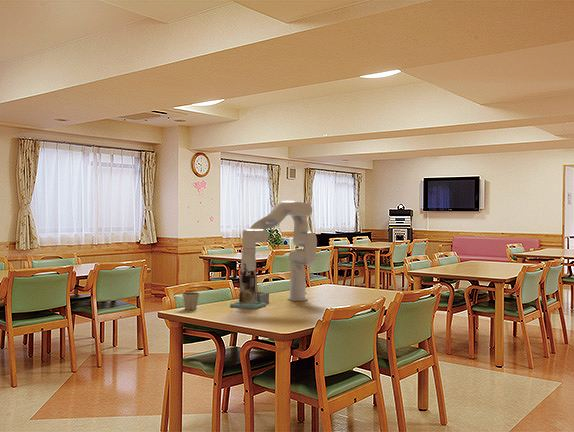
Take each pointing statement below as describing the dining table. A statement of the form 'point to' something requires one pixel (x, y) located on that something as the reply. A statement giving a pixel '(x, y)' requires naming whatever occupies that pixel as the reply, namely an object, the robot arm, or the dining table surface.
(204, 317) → the dining table surface
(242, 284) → the coffee box
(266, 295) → the bay
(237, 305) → the tray
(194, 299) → the flower pot
